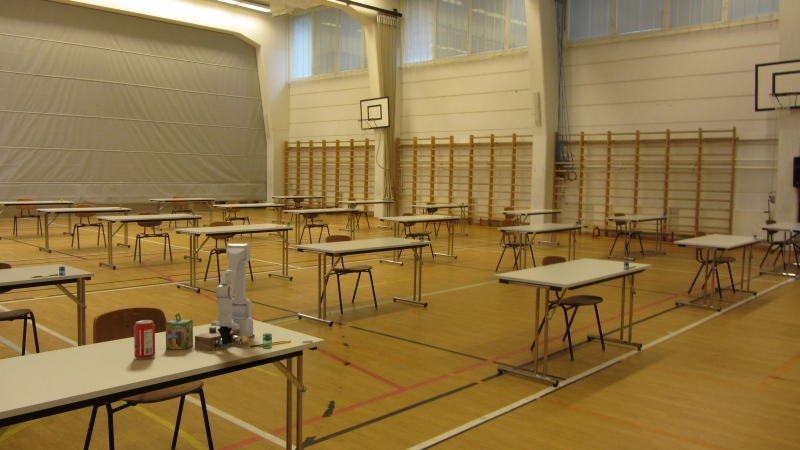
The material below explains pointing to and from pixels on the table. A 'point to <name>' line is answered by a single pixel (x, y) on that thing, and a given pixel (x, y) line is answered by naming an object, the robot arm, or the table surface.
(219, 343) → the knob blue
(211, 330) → the dial
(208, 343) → the mount
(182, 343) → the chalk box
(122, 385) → the table surface
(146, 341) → the soda can
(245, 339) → the knob mustard
